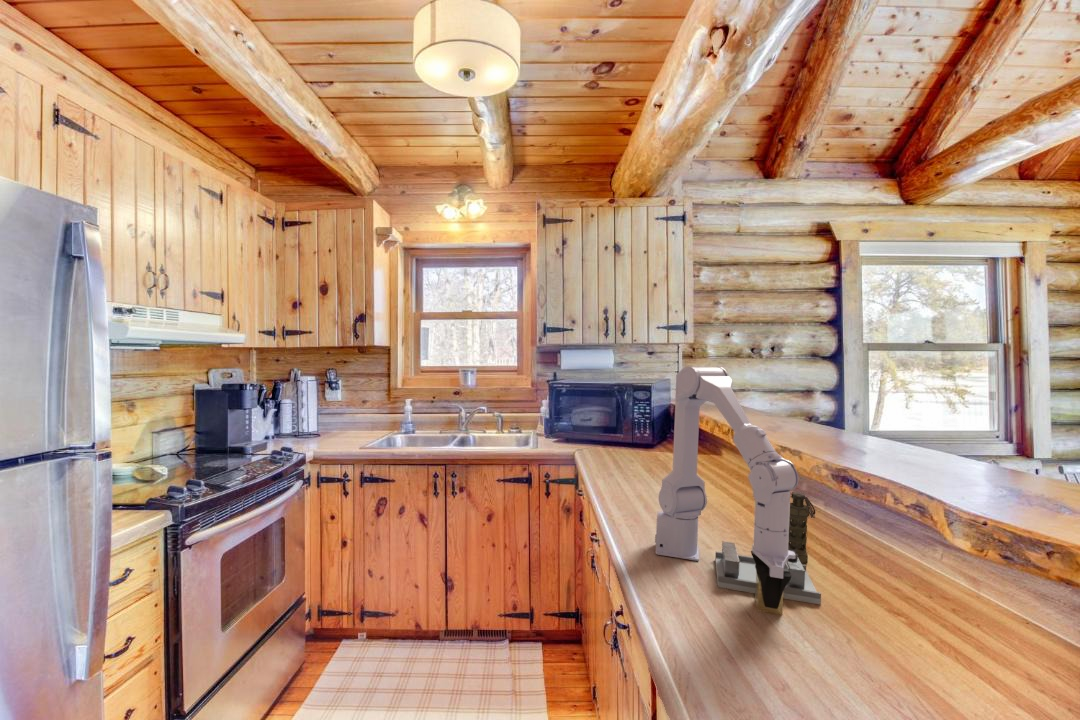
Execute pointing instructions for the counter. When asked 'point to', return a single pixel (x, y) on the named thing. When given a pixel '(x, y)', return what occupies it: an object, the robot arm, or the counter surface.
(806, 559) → the grenade
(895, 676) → the counter surface
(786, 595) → the board
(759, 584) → the block
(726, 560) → the fixed jaw
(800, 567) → the bar
